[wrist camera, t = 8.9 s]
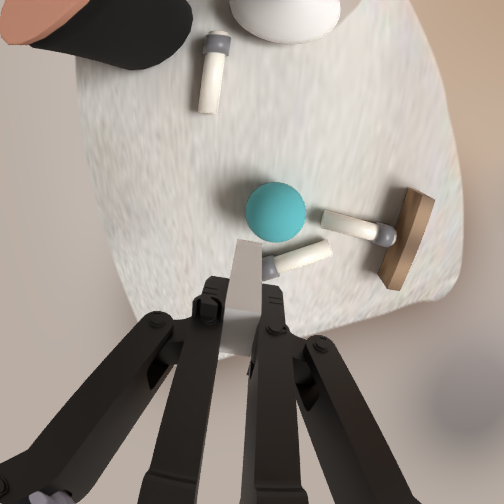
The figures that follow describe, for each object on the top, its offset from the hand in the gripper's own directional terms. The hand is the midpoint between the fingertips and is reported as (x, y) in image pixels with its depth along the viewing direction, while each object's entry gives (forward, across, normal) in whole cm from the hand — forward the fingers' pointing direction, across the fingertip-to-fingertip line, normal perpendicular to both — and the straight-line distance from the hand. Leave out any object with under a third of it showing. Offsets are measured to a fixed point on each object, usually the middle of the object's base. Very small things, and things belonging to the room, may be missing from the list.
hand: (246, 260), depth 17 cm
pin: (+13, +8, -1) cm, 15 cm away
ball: (+11, +2, 0) cm, 11 cm away
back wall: (+14, +19, -1) cm, 23 cm away
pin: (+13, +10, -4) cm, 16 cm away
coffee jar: (+15, -15, +18) cm, 28 cm away
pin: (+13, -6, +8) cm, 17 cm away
